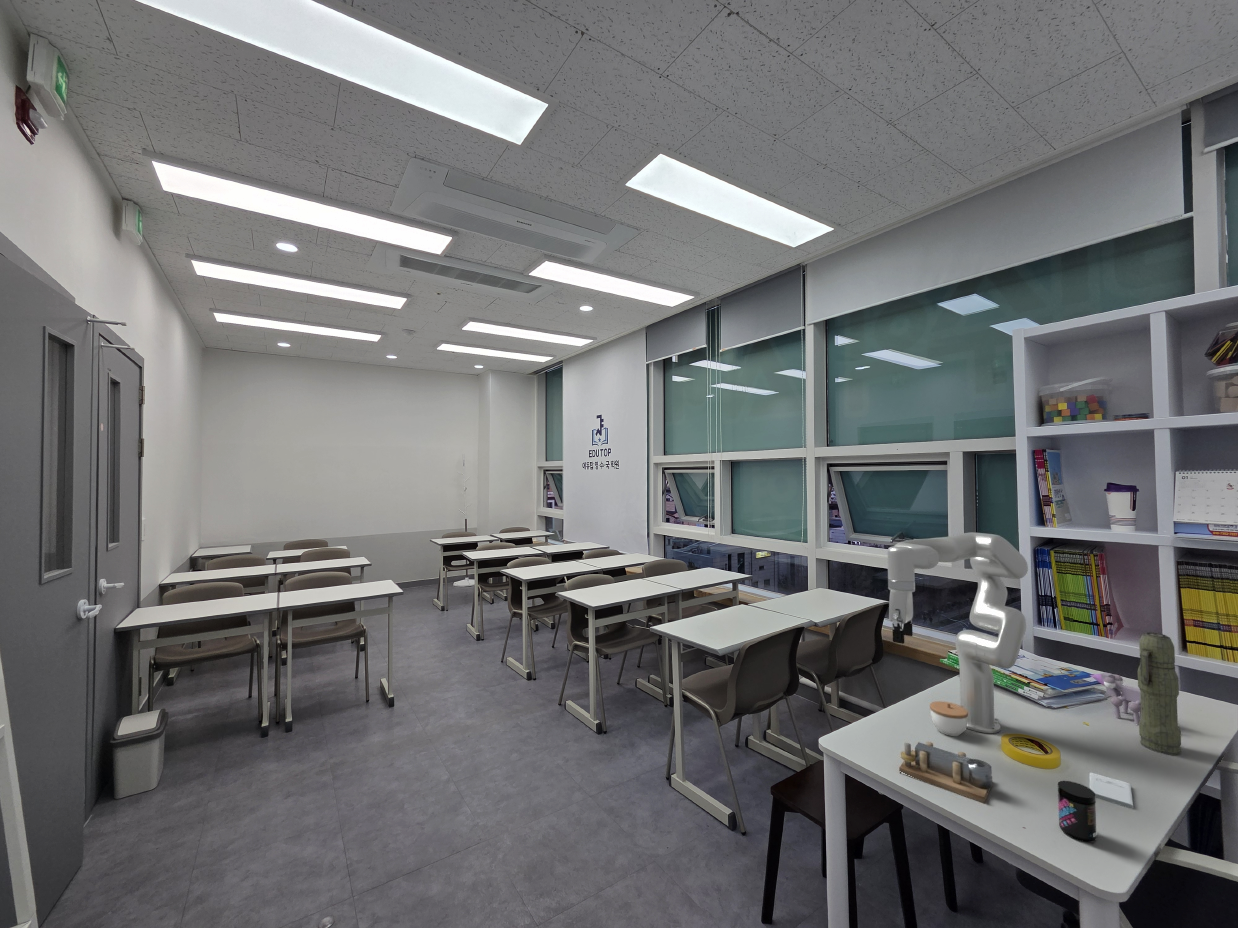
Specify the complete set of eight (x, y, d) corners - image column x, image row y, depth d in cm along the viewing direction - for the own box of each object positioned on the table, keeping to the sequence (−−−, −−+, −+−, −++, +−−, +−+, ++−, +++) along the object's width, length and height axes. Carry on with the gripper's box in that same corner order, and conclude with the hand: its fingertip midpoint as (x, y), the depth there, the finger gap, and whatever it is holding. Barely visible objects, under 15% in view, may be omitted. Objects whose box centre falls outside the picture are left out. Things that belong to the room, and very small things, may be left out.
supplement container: (1061, 819, 126) (1060, 777, 126) (1098, 834, 121) (1097, 789, 121) (1056, 832, 121) (1055, 788, 122) (1094, 847, 116) (1093, 801, 116)
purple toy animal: (1082, 707, 186) (1081, 670, 187) (1097, 704, 191) (1097, 667, 191) (1156, 732, 168) (1156, 690, 169) (1172, 728, 172) (1172, 687, 173)
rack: (910, 754, 156) (910, 729, 156) (992, 781, 142) (991, 754, 142) (898, 772, 146) (897, 745, 147) (984, 803, 132) (983, 773, 133)
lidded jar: (957, 724, 175) (956, 696, 175) (975, 740, 164) (975, 710, 164) (924, 723, 176) (923, 695, 176) (940, 738, 165) (939, 709, 165)
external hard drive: (1089, 797, 135) (1089, 777, 144) (1133, 811, 130) (1130, 788, 139) (1089, 791, 135) (1089, 771, 144) (1133, 804, 130) (1130, 782, 139)
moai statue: (1190, 751, 157) (1186, 636, 158) (1168, 758, 153) (1164, 640, 154) (1152, 737, 165) (1149, 628, 166) (1130, 743, 161) (1126, 632, 162)
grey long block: (919, 758, 151) (919, 740, 151) (993, 782, 139) (993, 763, 139) (914, 765, 147) (914, 747, 147) (990, 791, 135) (989, 772, 135)
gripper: (896, 579, 173) (897, 630, 172) (880, 588, 160) (882, 643, 160) (921, 582, 168) (922, 634, 167) (907, 591, 155) (908, 648, 155)
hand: (902, 638), depth 163 cm, fingers open, 9 cm apart
